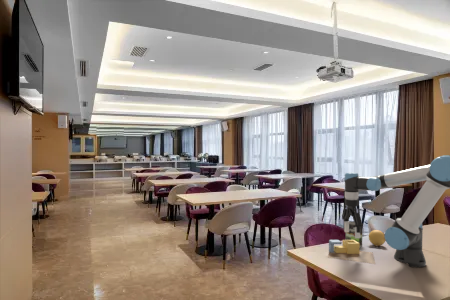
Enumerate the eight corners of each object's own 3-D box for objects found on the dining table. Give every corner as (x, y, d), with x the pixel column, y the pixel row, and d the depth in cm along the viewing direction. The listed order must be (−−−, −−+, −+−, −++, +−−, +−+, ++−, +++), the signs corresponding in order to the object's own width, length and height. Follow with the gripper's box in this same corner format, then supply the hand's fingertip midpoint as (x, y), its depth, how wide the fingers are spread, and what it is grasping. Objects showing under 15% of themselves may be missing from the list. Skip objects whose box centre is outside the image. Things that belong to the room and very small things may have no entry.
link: (337, 253, 178) (337, 243, 178) (332, 249, 185) (332, 239, 185) (359, 253, 179) (359, 243, 179) (353, 249, 186) (353, 239, 186)
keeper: (338, 250, 184) (338, 239, 184) (341, 253, 180) (341, 242, 180) (328, 250, 184) (328, 239, 184) (331, 253, 179) (331, 242, 179)
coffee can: (363, 247, 195) (364, 225, 195) (346, 246, 197) (346, 224, 197) (360, 243, 205) (361, 221, 205) (344, 241, 207) (344, 220, 207)
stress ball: (373, 249, 196) (387, 241, 192) (363, 235, 201) (376, 227, 197) (377, 248, 203) (390, 240, 199) (367, 234, 208) (380, 226, 204)
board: (372, 254, 182) (372, 252, 182) (375, 266, 163) (375, 264, 163) (329, 249, 191) (329, 247, 191) (327, 260, 172) (327, 257, 172)
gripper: (368, 202, 170) (369, 240, 170) (348, 196, 195) (348, 229, 195) (355, 202, 170) (355, 241, 169) (336, 196, 195) (336, 229, 194)
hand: (351, 235), depth 182 cm, fingers open, 13 cm apart
